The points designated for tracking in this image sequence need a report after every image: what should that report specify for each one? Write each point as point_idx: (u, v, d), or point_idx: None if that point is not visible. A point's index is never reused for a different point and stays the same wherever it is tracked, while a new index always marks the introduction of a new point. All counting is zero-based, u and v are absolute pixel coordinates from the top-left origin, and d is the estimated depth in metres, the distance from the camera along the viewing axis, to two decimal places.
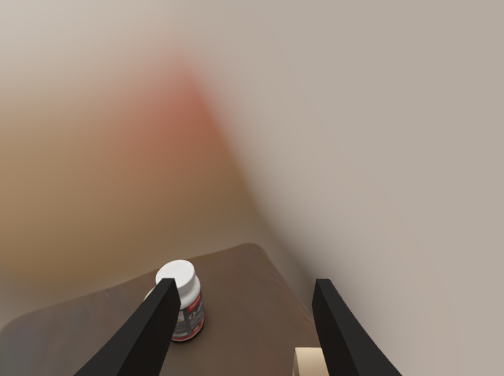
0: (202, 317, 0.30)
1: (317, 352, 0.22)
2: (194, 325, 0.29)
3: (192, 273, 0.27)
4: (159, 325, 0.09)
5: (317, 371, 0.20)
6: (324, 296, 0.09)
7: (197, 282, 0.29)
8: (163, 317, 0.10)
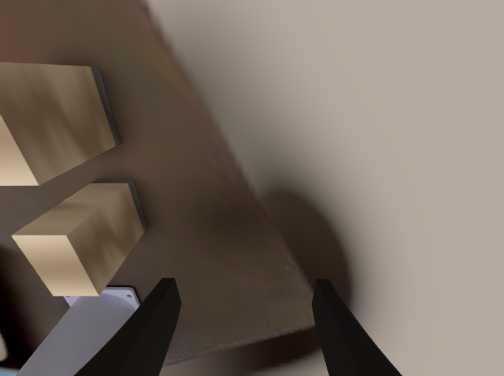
0: None
1: None
2: None
3: None
4: (159, 326, 0.09)
5: None
6: (324, 296, 0.09)
7: None
8: (163, 317, 0.10)
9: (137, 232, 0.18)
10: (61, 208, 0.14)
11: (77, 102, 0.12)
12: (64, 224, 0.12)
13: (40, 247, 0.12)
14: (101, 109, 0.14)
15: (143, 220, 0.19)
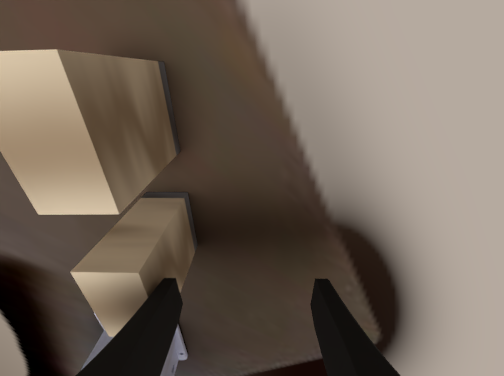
0: None
1: (32, 69, 0.06)
2: None
3: None
4: (161, 326, 0.09)
5: (45, 133, 0.06)
6: (323, 296, 0.09)
7: None
8: (165, 317, 0.10)
9: (190, 252, 0.16)
10: (119, 232, 0.12)
11: (148, 105, 0.10)
12: (131, 256, 0.10)
13: (103, 285, 0.10)
14: (166, 113, 0.12)
15: (194, 238, 0.17)
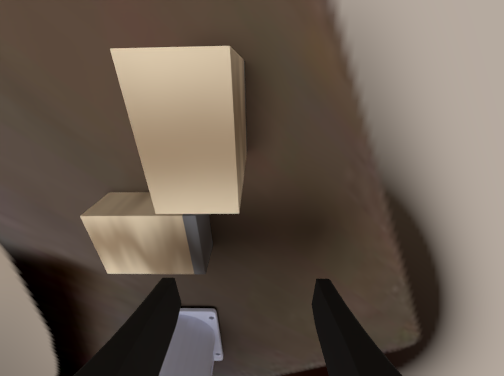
0: None
1: (198, 66, 0.06)
2: None
3: None
4: (159, 325, 0.09)
5: (190, 131, 0.06)
6: (324, 296, 0.09)
7: None
8: (163, 317, 0.10)
9: (182, 267, 0.15)
10: (141, 195, 0.15)
11: (242, 104, 0.10)
12: (104, 208, 0.14)
13: None
14: None
15: (199, 263, 0.15)
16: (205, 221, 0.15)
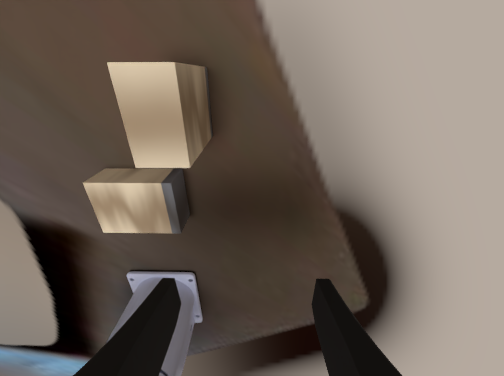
0: None
1: (157, 73, 0.10)
2: None
3: None
4: (159, 326, 0.09)
5: (155, 111, 0.10)
6: (324, 296, 0.09)
7: None
8: (163, 317, 0.10)
9: (162, 226, 0.19)
10: (131, 170, 0.19)
11: (200, 98, 0.14)
12: (101, 178, 0.18)
13: None
14: (207, 105, 0.16)
15: (175, 224, 0.19)
16: (181, 191, 0.19)
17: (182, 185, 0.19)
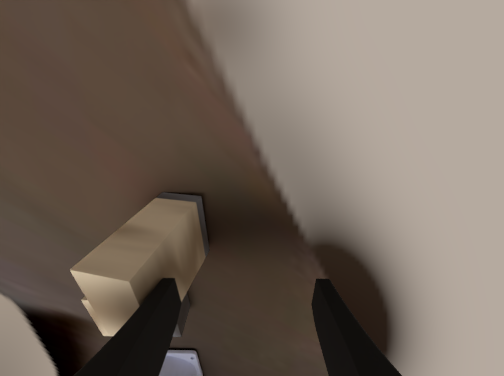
0: None
1: (114, 284, 0.09)
2: None
3: None
4: (159, 325, 0.09)
5: (117, 307, 0.10)
6: (324, 296, 0.09)
7: None
8: (163, 317, 0.10)
9: None
10: None
11: (185, 245, 0.13)
12: None
13: None
14: (199, 233, 0.15)
15: (175, 330, 0.18)
16: None
17: None
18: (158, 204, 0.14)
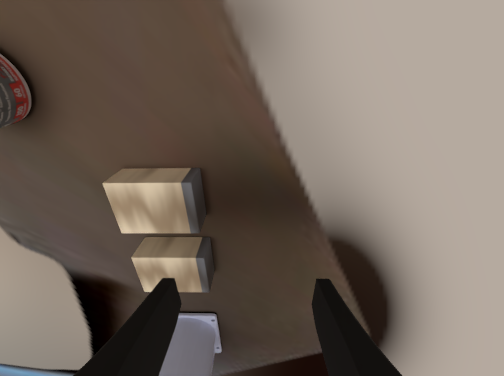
0: (12, 91, 0.15)
1: None
2: (8, 116, 0.15)
3: None
4: (159, 325, 0.09)
5: None
6: (324, 296, 0.09)
7: None
8: (163, 317, 0.10)
9: (194, 287, 0.22)
10: (167, 240, 0.23)
11: (160, 203, 0.18)
12: (145, 251, 0.21)
13: None
14: (183, 209, 0.18)
15: (205, 285, 0.22)
16: (209, 257, 0.23)
17: (210, 251, 0.23)
18: (180, 170, 0.19)
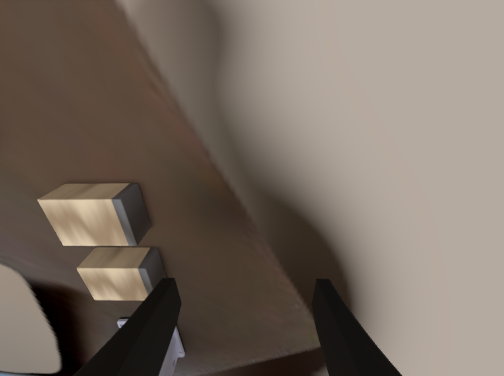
0: None
1: None
2: None
3: None
4: (159, 325, 0.09)
5: None
6: (324, 296, 0.09)
7: None
8: (163, 317, 0.10)
9: (141, 296, 0.23)
10: (116, 250, 0.24)
11: (94, 217, 0.18)
12: (91, 261, 0.22)
13: None
14: (117, 223, 0.19)
15: None
16: (157, 266, 0.24)
17: (157, 260, 0.24)
18: (118, 186, 0.20)
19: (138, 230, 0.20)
